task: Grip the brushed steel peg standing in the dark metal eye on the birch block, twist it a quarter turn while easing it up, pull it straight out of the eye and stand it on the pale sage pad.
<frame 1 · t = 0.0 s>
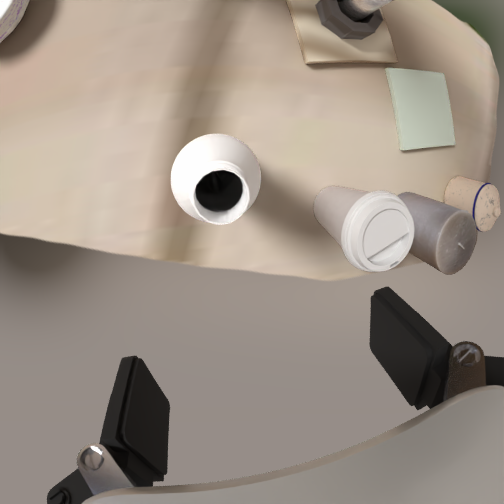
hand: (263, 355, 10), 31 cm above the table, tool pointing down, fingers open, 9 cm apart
steel peg: (343, 15, 30), point 1 cm above the table, touching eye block
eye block: (339, 19, 31), on the table
pillar candle: (404, 217, 45), on the table
sage pad: (423, 108, 38), on the table
coffee cup: (332, 206, 42), on the table
teacup with lid: (459, 197, 46), on the table
paper bowls: (7, 19, 20), on the table
water bottle: (212, 164, 37), on the table
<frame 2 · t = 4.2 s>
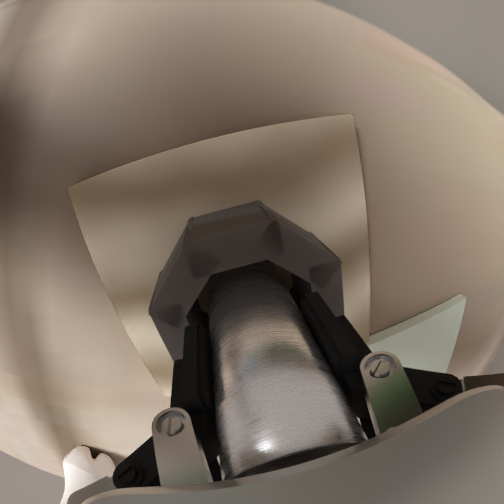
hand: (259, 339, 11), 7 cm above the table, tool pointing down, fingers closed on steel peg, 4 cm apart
steel peg: (243, 281, 16), point 2 cm above the table, touching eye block, gripper
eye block: (240, 270, 18), on the table
sage pad: (400, 370, 25), on the table
water bottle: (93, 454, 24), on the table
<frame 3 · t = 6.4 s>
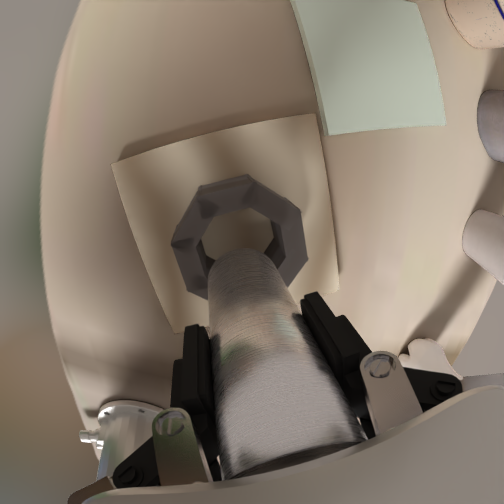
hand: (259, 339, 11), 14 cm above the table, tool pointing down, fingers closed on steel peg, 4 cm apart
steel peg: (243, 281, 16), point 8 cm above the table, touching gripper
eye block: (234, 227, 24), on the table
pillar candle: (493, 125, 23), on the table
sage pad: (376, 57, 19), on the table
coffee cup: (475, 232, 29), on the table
teacup with lid: (464, 11, 17), on the table
water bottle: (411, 351, 35), on the table
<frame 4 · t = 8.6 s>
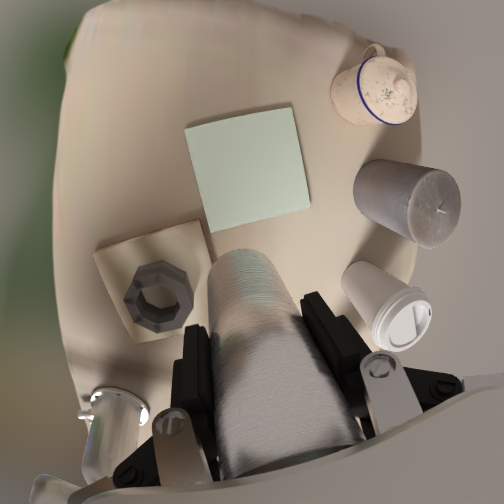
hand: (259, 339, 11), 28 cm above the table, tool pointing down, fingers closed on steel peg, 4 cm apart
steel peg: (242, 282, 16), point 23 cm above the table, touching gripper
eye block: (162, 285, 40), on the table
pillar candle: (377, 190, 41), on the table
sage pad: (249, 168, 36), on the table
coffee cup: (357, 278, 45), on the table
teacup with lid: (355, 88, 35), on the table
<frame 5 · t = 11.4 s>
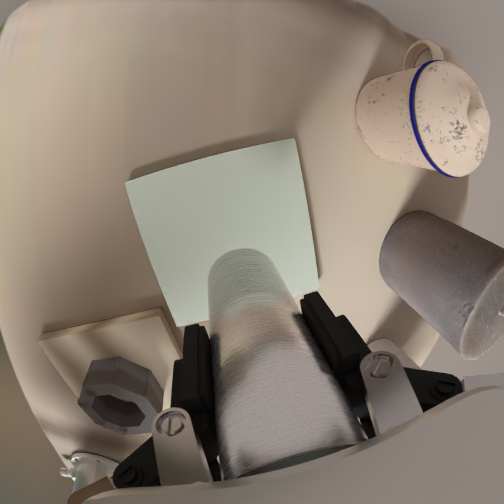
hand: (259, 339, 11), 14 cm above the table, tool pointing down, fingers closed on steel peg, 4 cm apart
steel peg: (243, 281, 16), point 9 cm above the table, touching gripper
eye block: (126, 376, 29), on the table
pillar candle: (410, 251, 29), on the table
sage pad: (228, 236, 25), on the table
coffee cup: (372, 356, 34), on the table
teacup with lid: (390, 105, 22), on the table
when the fingers open (8 cm above the table, at t = 13.4 s): steel peg drops 2 cm, resting on sage pad.
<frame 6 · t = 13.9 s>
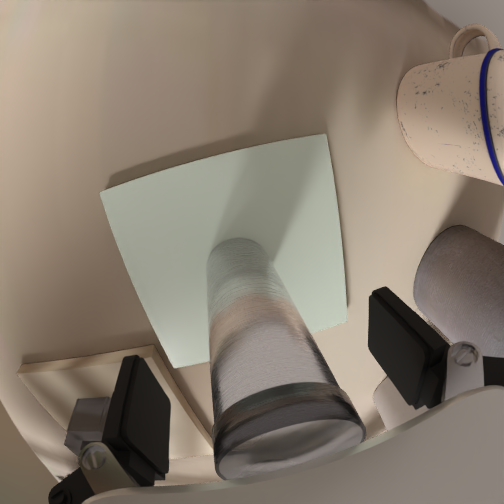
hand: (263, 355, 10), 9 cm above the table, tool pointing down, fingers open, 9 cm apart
steel peg: (238, 267, 18), point 1 cm above the table, touching sage pad
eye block: (117, 413, 23), on the table
pillar candle: (445, 271, 23), on the table
sage pad: (237, 261, 19), on the table
coffee cup: (395, 384, 28), on the table
teacup with lid: (432, 99, 17), on the table
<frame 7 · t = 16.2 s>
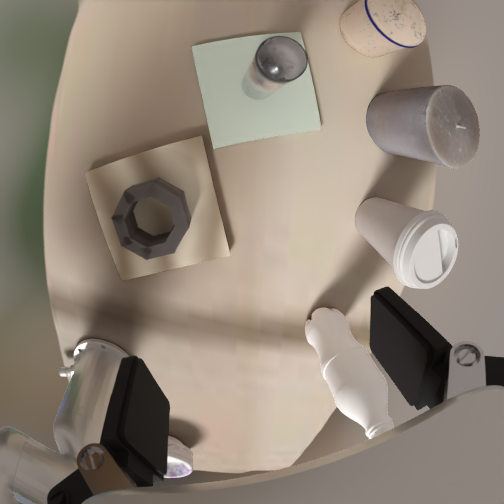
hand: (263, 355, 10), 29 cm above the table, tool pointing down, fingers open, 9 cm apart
steel peg: (257, 84, 30), point 1 cm above the table, touching sage pad
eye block: (157, 210, 36), on the table
pillar candle: (391, 123, 35), on the table
sage pad: (257, 86, 31), on the table
coffee cup: (372, 217, 41), on the table
teacup with lid: (364, 25, 29), on the table
paper bowls: (162, 441, 57), on the table
water bottle: (321, 319, 47), on the table
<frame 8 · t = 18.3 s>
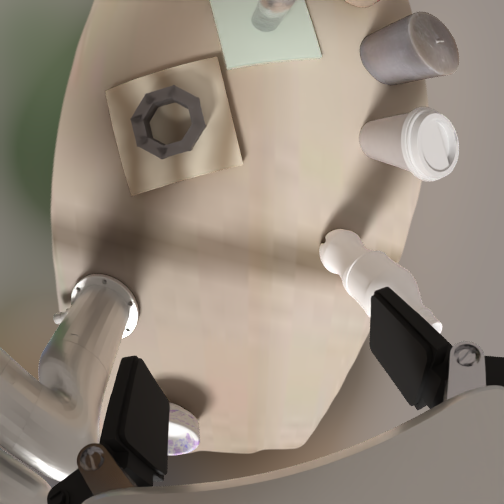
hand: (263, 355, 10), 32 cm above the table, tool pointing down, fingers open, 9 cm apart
steel peg: (265, 20, 30), point 1 cm above the table, touching sage pad
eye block: (172, 124, 35), on the table
pillar candle: (382, 59, 35), on the table
sage pad: (264, 23, 31), on the table
coffee cup: (375, 139, 40), on the table
paper bowls: (165, 412, 55), on the table
water bottle: (334, 245, 46), on the table
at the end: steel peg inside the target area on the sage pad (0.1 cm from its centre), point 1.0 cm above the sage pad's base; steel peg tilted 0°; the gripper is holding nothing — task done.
